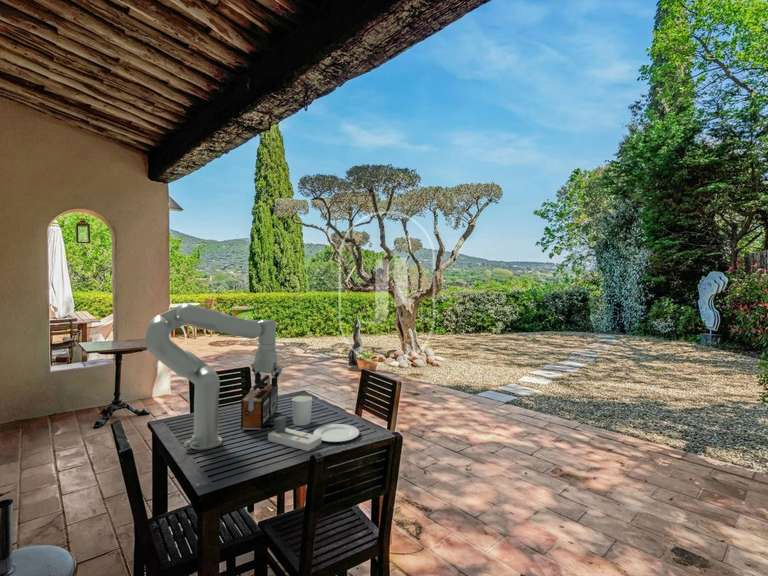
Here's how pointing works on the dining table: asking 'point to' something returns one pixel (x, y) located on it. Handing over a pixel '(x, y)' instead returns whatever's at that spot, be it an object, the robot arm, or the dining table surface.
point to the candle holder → (301, 410)
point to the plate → (337, 433)
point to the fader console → (295, 439)
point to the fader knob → (280, 424)
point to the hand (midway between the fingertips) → (265, 384)
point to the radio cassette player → (259, 405)
